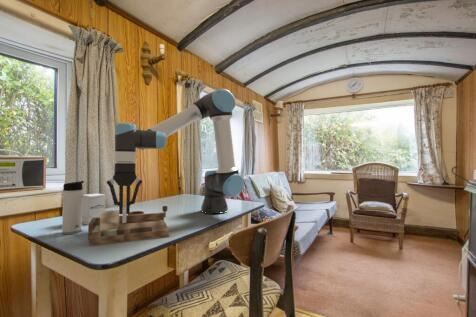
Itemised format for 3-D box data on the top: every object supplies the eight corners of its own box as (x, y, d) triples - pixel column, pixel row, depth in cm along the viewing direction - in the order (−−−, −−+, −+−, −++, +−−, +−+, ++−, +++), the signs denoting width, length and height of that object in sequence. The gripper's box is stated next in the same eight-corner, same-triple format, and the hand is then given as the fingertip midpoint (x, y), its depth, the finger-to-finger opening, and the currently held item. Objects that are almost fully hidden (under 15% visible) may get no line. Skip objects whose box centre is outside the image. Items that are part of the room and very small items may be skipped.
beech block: (119, 224, 95) (119, 209, 95) (117, 228, 90) (118, 213, 90) (102, 226, 93) (102, 210, 93) (99, 230, 87) (100, 214, 87)
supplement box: (88, 225, 102) (88, 196, 102) (79, 222, 106) (80, 194, 106) (105, 221, 109) (105, 194, 109) (96, 219, 113) (97, 192, 113)
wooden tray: (163, 224, 105) (163, 212, 105) (169, 236, 89) (169, 222, 89) (92, 231, 94) (92, 217, 94) (84, 246, 78) (84, 229, 78)
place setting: (125, 219, 116) (125, 207, 116) (167, 216, 122) (167, 205, 122) (117, 229, 99) (117, 215, 99) (167, 226, 105) (167, 213, 105)
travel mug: (82, 233, 92) (83, 181, 92) (61, 235, 88) (62, 182, 88) (83, 229, 97) (84, 180, 97) (63, 231, 94) (64, 180, 94)
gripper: (142, 162, 100) (141, 218, 99) (107, 162, 94) (106, 221, 94) (143, 162, 93) (142, 222, 93) (105, 162, 87) (104, 226, 87)
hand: (124, 222), depth 93 cm, fingers closed
